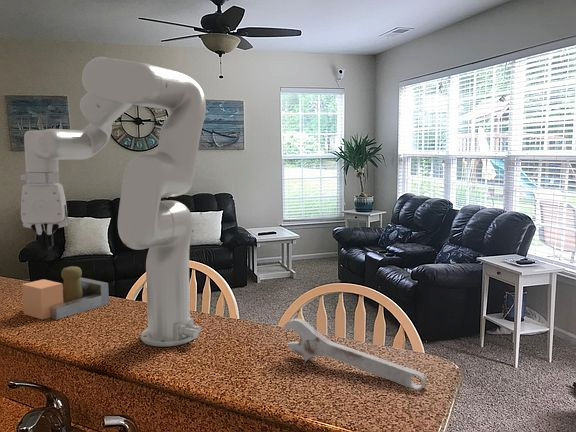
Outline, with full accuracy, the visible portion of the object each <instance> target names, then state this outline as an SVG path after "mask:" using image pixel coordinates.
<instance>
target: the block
mask: <svg viewBox="0 0 576 432" xmlns="http://www.w3.org/2000/svg"><path fill="white" fill-rule="evenodd" d="M21 293H22V309H23V310H22V311H23V315H25V316H29V317H33V318H36V319H39V320H46V319H49V318H51V312H50V307H52V306H56V305H59V304H63V282H57V281H53V280H48V279H39V280H34V281H30V282H26V283H21Z"/></svg>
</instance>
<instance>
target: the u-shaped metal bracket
mask: <svg viewBox="0 0 576 432" xmlns="http://www.w3.org/2000/svg"><path fill="white" fill-rule="evenodd" d="M80 281H81V286H82V291H83V297H84V298H80V299H77V300H73V301H70V302H66V303H63V304H59V305H56V306H52V307H50V312H51V317H50V319H51V318H53V319H52V320H55V319H56V321H58V319H59V320H61V318H62V319H65V318H67V316H68V317H71V316H74V314H75V315H77V313H78V314H80V313H83V312H86V311H87V312H88V311H89V310H93V309H96V308H100V307H102V306H103V307H104V306H105V305H106V306H107V305H108V304H110V299H109V298H110V296H109V294H110V293H109V282H105V281H101V280H95V279H91V278H86V277H82V276H81V277H80ZM64 317H65V318H64Z"/></svg>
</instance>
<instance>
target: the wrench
mask: <svg viewBox="0 0 576 432" xmlns="http://www.w3.org/2000/svg"><path fill="white" fill-rule="evenodd" d="M282 329H283V331H285V330H286V331H287V330H294V331H295V332H296V333H297V335H298V336H299V341H291V342H288V343H286V345H287V347H288V348H289V349H290V351H292V352H294V353H295V354H297V355H298V356H302V357H303V359H304V361H305V362H307V361H308V360H309V361H310V362H313V361H314V357H327V358H331V359H332V360H336V361H339V362H341V363H344V364H347V365H350V366H352V367H354V368H356V369H359V370H362V371H365V372H367V373H371V374H372V375H376V376H378V377H380V378H383V379H386V380H389V381H391V382H393V383H396V384H399V385H402V386H404V387H406V388H409V389H413V390H417V391H421V390H422V389H423V388H424V387H425V385H426V384H427V379H426V376H425V375H424V373H423V372H421V371H418V370H415V369H413V368H410V367H407V366H404V365H401V364H398V363H395V362H393V361H390V360H387V359H383V358H380V357H378V356H375V355H372V354H369V353H367V352H363V351H360V350H357V349H354V348H352V347H349V346H345V345H343V344H340V343H337V342H334V341H331V340H330V339H329V338H327V337H325V336H324V334H321V333H320V332H319V331H317V330H316V329H315V328H314V327H313V326H311V324H309V322H307V321H306V320H305V319H303V318H297V317H296V318H292V319H290V320H289V321H287V322H286V323H284V325H283V327H282ZM413 376H416V377H418V378H419V379H420V380H421V384H416V383H414V381H413V380H412V377H413Z"/></svg>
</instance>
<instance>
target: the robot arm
mask: <svg viewBox="0 0 576 432" xmlns="http://www.w3.org/2000/svg"><path fill="white" fill-rule="evenodd" d="M81 83H82V86H83V87H84V90H85V91H86V92H87V93H86V94H85V95H84V96H82V98H80V100H79V108H80V111H81V113H82V116H84V118H85V119H86V120H87V121H88V122H89V123H88V124H87V125H86V126H85V127H84V128H83V129H65V128H64V129H61V128H47V129H46V128H45V129H42V130H40V129H39V130H36V129H35V130H31V129H30V130H27V131H25V132H24V135H23V136H24V137H23V141H24V158H25V160H24V161H25V173H24V174H20V176H19V177H20V180H21V181H23V180H24V181H25V183H26V184H23V185H22V189H21V199H20V218H21V219H20V220H21V222H22V227H23V228H27V229H31V230H33V231H34V232H35V233H36V234H37V235H38V239H39V247H41V250H42V251H49V250H51V249H53V247H54V245H55V243H54V233H56V231H57V230H59V229H60V228H64V227H67V226H68V225H69V222H68V220H67V219H68V209H67V201H66V195H65V189H64V186H63V184H61V183H60V171H59V170H60V169H59V168H60V167H59V160H60V161H61V160H62V161H66V160H67V161H68V160H71V161H72V160H76V161H77V160H80V161H81V160H86V159H87V160H88V159H90V158H91V157H94V156H95V155H96V154H98V153H99V152H100V151H102V149H103V148H104V147H105V146H106V145H107V144H108V143H109V141H110V138H111V137H112V136H111V135H112V132H113V126H112V125H113V123H114V122H115V121H116V120H118V119H119V118H120V117H121V116H122V115H123V114H124V113H126V112H127V110H129V109H130V108H131V107H132V106H133V105H134V106H137V107H143V108H144V107H146V108H153V109H160V110H161V109H162V110H167V111H169V115H168V116H167V117H166V118H165V120H164V122H163V124H162V126H161V128H160V131H159V134H158V135H159V136H158V143H157V148H156V152H142V153H138V154H137V155H135V156H134V157H132V158H131V159H130V160H129V162H128V164H126V167H125V170H124V173H123V175H122V176H123V177H122V184H121V191H120V199H119V205H118V206H119V207H118V215H117V230H118V236H119V238H120V240H121V241H122V243H123V244H124V246H126V247H128V248H130V249H132V250H145V249H148V252H147V255H146V261H145V275H146V276H145V278H146V279H145V280H146V309H147V311H146V313H147V328H146V329H144V330H142V332H141V333H140V339H141V341H142V342H143V344H146V345H148V346H151V347H159V348H161V347H165V348H166V347H175V346H181V345H184V344H187V343H190V342H191V341H193V340H195V339H197V338H198V337H199V334H200V333H201V332H202V330H203V329H202V327H201V326H199V325H195V324H194V321H195V320H194V317H191V298H190V297H191V296H190V248H191V247H190V246H191V240H192V239H191V238H192V233H193V226H194V224H193V217H192V214H191V211H190V209H189V208H188V207H187V206H186V205H185V204H183V203H182V202H180V201H177V200H172V199H170V200H168V199H167V200H161V199H163V198H171V197H178V196H182V195H184V194H187V193H188V192H189V191H190V190H191V188H192V187H193V186H192V185H193V182H194V178H195V173H196V165H197V158H198V153H199V145H200V139H201V133H202V129H203V125H204V121H205V119H206V112H207V100H206V96H205V93H204V91H203V89H202V87H201V86H200V85H199V83H198V82H197V81H196V80H195V79H193V78H192V77H190V75H187V74H185V73H182V72H180V71H177V70H174V69H169V68H166V67H161V66H158V65H154V64H150V63H145V62H140V61H139V62H138V61H133V60H126V59H119V58H111V57H107V56H97V57H95V58H93V59H91V60H89V61H88V62H87V63H86V65H84V68H83V70H82V74H81ZM46 224H47V225H46ZM45 225H46V227H45ZM45 228H46V229H45Z"/></svg>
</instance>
